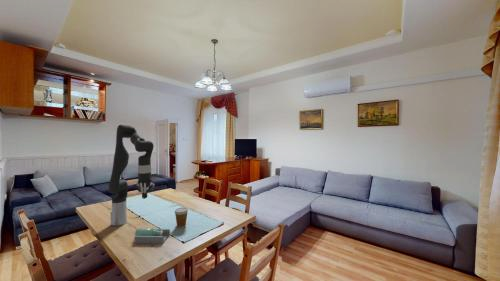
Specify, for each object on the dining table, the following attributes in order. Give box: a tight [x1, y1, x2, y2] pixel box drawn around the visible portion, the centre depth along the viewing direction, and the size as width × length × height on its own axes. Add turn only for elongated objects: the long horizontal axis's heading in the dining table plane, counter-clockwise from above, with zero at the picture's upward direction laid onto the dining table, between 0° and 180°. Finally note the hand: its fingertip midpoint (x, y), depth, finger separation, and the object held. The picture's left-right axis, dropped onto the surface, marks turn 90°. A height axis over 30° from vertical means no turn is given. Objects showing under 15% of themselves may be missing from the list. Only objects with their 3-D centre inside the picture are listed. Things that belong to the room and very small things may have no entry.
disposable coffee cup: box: [174, 207, 189, 228], centre depth 147 cm, size 10×10×12 cm
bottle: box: [134, 227, 163, 237], centre depth 130 cm, size 5×5×16 cm
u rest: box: [133, 228, 171, 244], centre depth 129 cm, size 18×10×4 cm, turn 90°
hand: (144, 198), depth 128 cm, fingers closed
